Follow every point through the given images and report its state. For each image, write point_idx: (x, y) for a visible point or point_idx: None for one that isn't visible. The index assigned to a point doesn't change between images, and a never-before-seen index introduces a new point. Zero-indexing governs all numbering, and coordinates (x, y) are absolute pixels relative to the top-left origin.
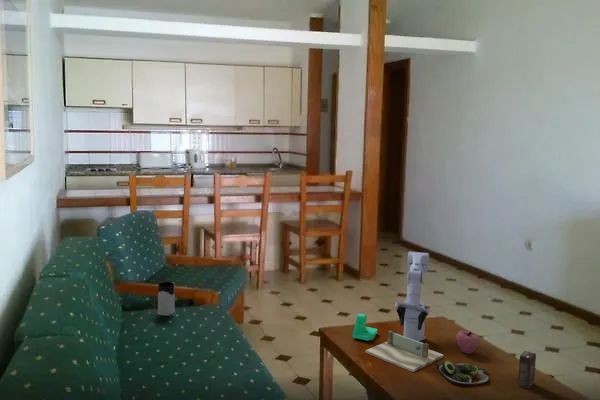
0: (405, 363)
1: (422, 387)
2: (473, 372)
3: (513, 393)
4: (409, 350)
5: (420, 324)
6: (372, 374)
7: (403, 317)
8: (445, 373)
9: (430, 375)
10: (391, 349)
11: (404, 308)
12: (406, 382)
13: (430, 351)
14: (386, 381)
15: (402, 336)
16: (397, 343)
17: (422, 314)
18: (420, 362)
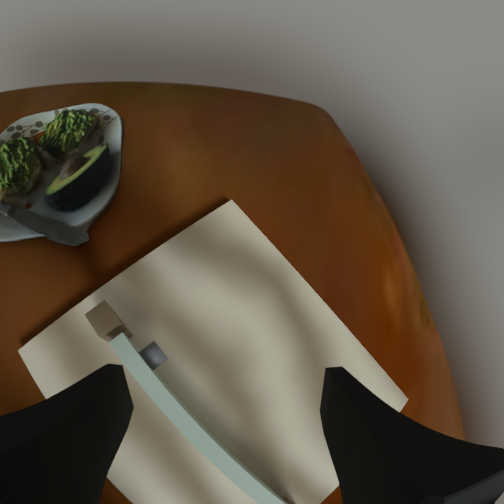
0: (252, 261)
1: (230, 114)
2: (23, 136)
3: (5, 94)
4: (191, 412)
5: (97, 383)
6: (379, 207)
7: (367, 405)
8: (110, 156)
9: (165, 176)
10: (290, 435)
11: (451, 476)
12: (275, 144)
13: None
14: (337, 160)
15: (242, 475)
16: (255, 476)
17: (11, 447)
18: (170, 267)
